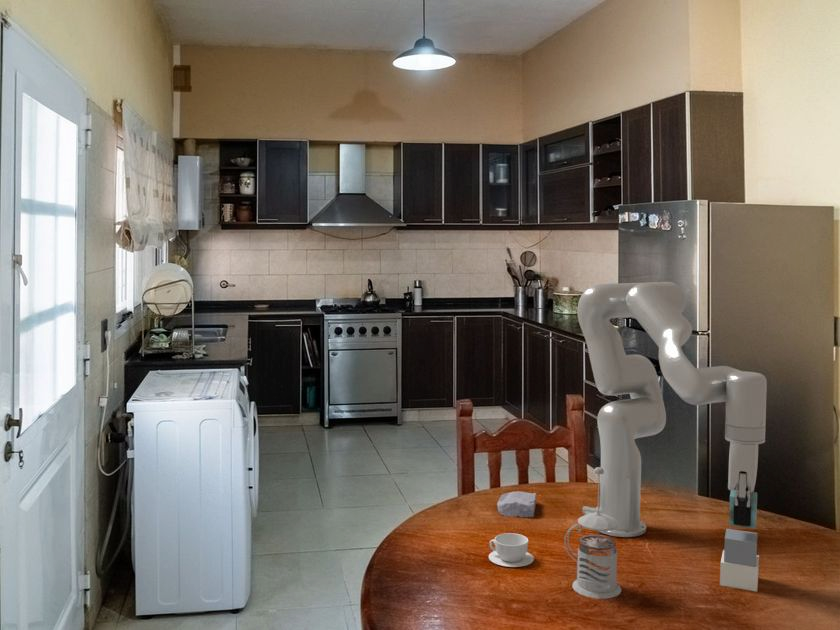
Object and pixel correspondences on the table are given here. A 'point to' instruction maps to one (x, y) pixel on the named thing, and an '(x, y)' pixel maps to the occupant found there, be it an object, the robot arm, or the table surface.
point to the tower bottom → (739, 575)
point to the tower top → (740, 547)
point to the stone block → (517, 504)
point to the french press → (596, 578)
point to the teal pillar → (753, 509)
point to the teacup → (510, 550)
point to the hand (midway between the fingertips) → (742, 519)
